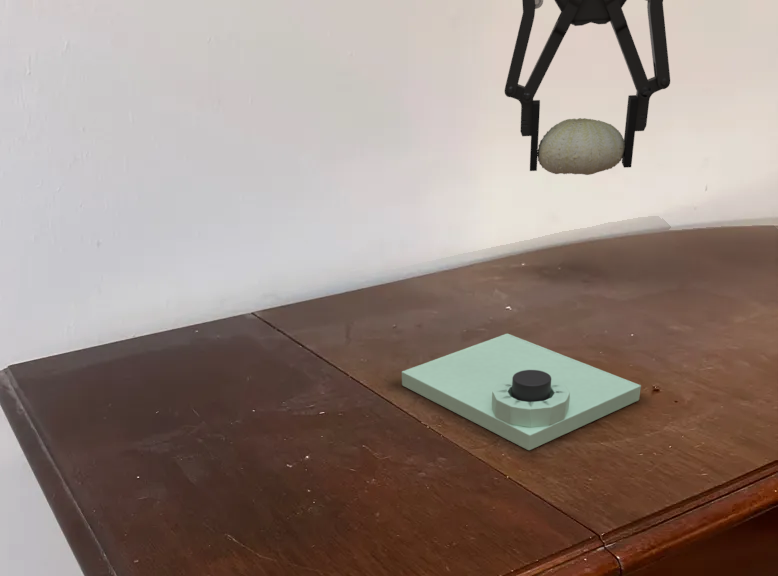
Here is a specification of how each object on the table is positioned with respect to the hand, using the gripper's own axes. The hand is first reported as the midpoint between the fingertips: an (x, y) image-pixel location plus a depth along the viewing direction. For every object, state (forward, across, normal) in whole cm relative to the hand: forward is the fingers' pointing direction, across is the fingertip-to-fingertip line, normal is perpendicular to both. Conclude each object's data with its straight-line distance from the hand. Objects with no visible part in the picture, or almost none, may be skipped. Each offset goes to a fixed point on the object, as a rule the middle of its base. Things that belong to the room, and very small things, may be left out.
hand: (579, 166), depth 89 cm
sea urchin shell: (+1, 0, 0) cm, 1 cm away
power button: (+9, -5, -38) cm, 39 cm away
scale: (+12, -6, -32) cm, 35 cm away
